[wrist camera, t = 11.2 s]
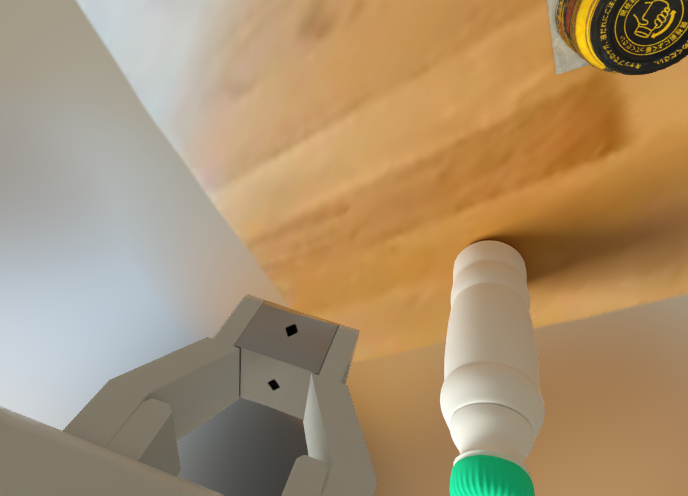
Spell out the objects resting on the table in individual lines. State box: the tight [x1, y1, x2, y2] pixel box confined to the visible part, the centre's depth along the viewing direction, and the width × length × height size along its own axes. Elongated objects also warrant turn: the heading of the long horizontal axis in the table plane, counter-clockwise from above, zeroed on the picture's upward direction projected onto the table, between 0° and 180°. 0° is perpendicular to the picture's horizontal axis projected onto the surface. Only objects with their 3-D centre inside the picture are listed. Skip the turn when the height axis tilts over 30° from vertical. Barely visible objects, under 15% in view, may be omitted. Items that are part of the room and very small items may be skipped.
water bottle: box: [440, 240, 545, 496], centre depth 34 cm, size 7×7×25 cm
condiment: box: [547, 0, 688, 75], centre depth 25 cm, size 7×8×12 cm
